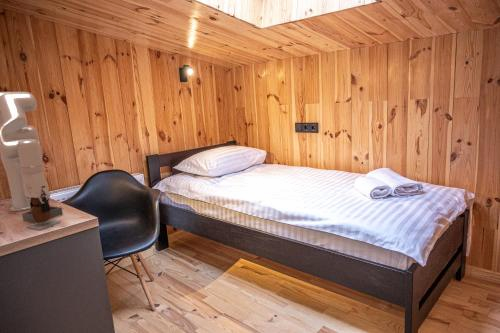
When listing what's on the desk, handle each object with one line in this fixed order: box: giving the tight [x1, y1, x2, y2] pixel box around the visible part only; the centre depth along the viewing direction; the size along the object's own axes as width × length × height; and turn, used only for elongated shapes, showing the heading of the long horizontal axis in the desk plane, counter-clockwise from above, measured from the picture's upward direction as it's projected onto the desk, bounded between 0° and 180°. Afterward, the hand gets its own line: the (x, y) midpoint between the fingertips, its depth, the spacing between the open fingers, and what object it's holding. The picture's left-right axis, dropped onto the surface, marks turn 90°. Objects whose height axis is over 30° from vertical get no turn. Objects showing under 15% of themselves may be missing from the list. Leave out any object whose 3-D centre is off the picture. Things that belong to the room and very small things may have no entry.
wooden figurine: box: [30, 195, 51, 223], centre depth 137 cm, size 7×6×15 cm
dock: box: [21, 205, 64, 224], centre depth 149 cm, size 11×12×4 cm
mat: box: [26, 219, 62, 231], centre depth 138 cm, size 9×9×1 cm
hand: (40, 210), depth 137 cm, fingers closed on wooden figurine, 6 cm apart
